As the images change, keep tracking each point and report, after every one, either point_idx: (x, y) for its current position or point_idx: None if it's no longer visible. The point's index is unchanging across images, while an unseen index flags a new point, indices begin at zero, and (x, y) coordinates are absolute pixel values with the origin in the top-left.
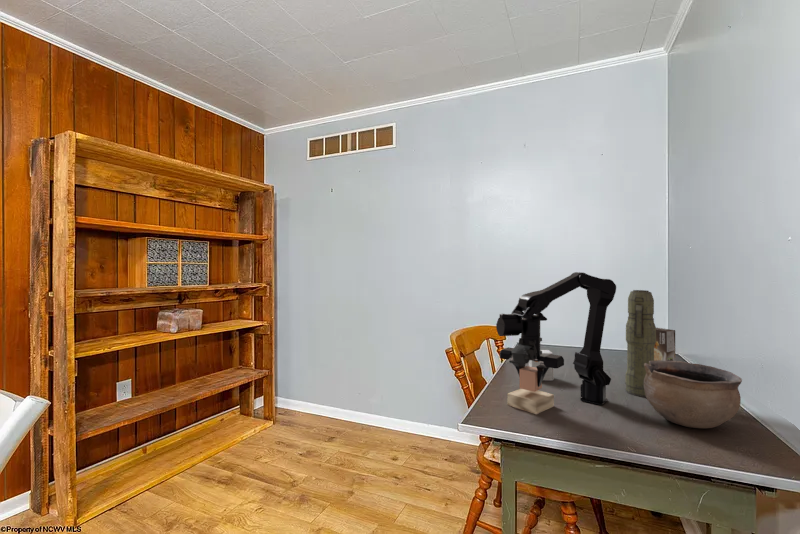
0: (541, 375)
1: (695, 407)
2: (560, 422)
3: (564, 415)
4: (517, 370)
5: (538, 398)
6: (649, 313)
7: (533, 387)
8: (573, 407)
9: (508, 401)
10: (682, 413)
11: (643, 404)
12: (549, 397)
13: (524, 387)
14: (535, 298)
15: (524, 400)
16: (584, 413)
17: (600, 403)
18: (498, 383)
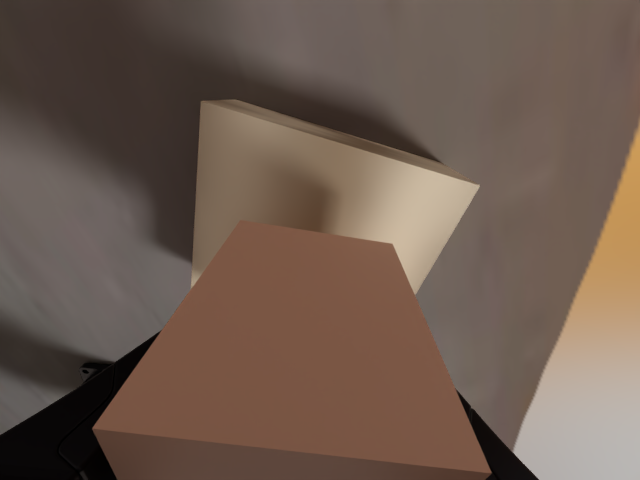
0: (72, 394)
1: None
2: (53, 38)
3: (112, 181)
4: (499, 445)
5: (226, 199)
6: None
7: (244, 241)
8: (146, 301)
9: (444, 166)
10: None
11: (15, 416)
12: (195, 275)
13: (344, 245)
14: None
15: (319, 133)
16: (70, 259)
17: (83, 369)
18: (512, 402)
